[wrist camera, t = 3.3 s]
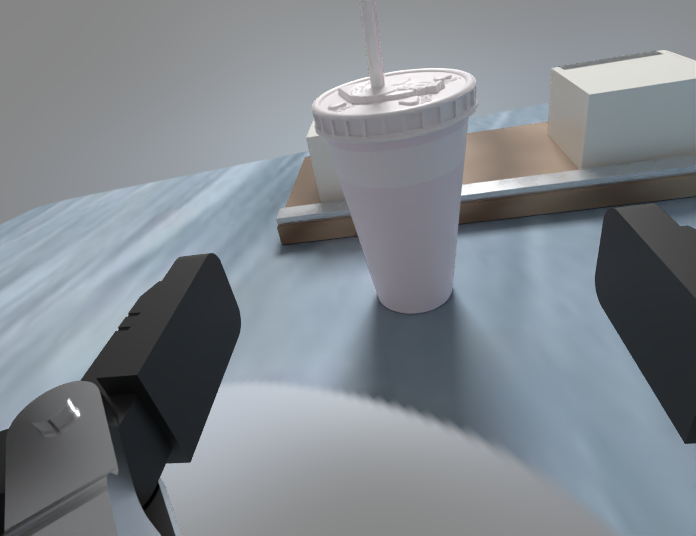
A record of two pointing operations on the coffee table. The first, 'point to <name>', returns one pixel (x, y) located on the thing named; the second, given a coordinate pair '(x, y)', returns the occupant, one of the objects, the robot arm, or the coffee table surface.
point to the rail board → (549, 151)
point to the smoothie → (401, 170)
